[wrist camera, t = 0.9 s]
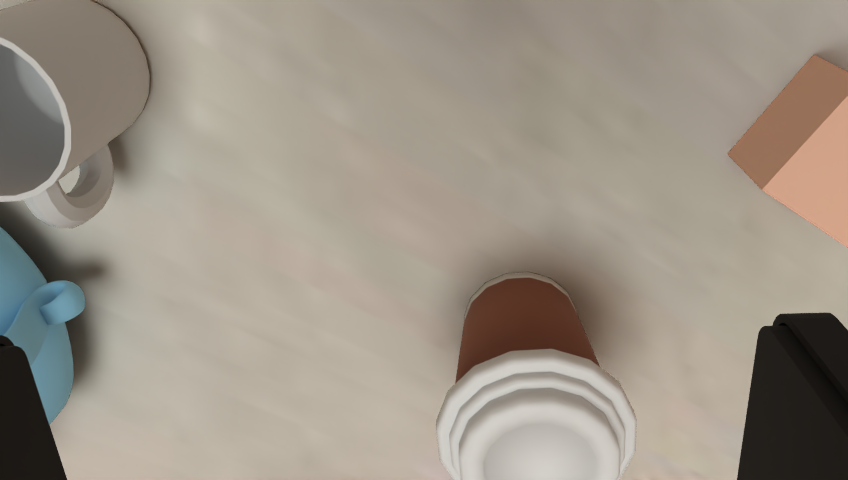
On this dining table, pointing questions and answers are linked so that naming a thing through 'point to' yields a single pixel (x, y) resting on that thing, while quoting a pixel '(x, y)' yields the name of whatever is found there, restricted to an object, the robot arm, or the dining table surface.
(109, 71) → the cup
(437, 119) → the dining table surface
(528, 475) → the coffee cup
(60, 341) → the decorative pot
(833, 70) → the stacking block
